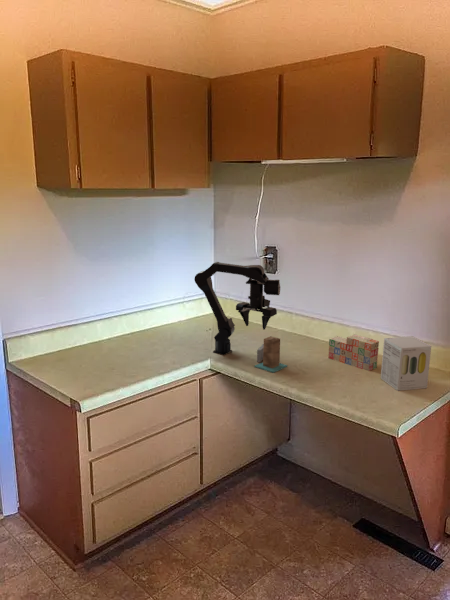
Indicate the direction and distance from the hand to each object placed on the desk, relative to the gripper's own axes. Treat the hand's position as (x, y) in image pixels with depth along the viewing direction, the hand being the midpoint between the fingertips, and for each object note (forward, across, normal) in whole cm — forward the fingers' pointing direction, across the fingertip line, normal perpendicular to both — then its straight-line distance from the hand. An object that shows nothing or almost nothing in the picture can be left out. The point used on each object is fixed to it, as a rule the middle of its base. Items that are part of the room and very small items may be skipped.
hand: (255, 327), depth 244 cm
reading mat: (+13, -14, +8) cm, 21 cm away
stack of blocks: (+13, -39, -19) cm, 45 cm away
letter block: (+12, -14, +8) cm, 20 cm away
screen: (+13, -5, 0) cm, 14 cm away
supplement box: (+13, -65, -10) cm, 67 cm away
